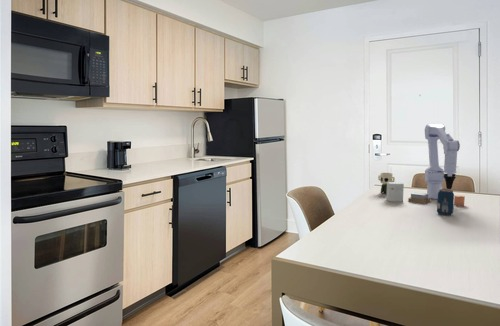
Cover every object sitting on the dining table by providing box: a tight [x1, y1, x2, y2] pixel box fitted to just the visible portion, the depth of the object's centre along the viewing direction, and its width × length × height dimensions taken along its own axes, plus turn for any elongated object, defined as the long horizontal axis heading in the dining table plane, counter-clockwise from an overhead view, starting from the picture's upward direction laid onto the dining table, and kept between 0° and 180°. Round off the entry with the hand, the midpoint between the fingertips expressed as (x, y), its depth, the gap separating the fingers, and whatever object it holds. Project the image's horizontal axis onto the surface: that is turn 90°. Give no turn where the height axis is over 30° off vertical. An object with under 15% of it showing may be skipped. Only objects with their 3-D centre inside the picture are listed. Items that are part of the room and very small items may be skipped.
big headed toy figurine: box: [378, 172, 395, 195], centre depth 227 cm, size 11×7×13 cm, turn 40°
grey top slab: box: [410, 191, 428, 200], centre depth 204 cm, size 7×7×2 cm
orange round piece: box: [453, 194, 465, 207], centre depth 194 cm, size 5×5×5 cm
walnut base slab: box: [407, 196, 432, 205], centre depth 204 cm, size 9×9×2 cm
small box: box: [385, 181, 405, 203], centre depth 206 cm, size 8×6×10 cm
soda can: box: [436, 188, 455, 217], centre depth 174 cm, size 7×7×12 cm
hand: (448, 187), depth 193 cm, fingers open, 7 cm apart
